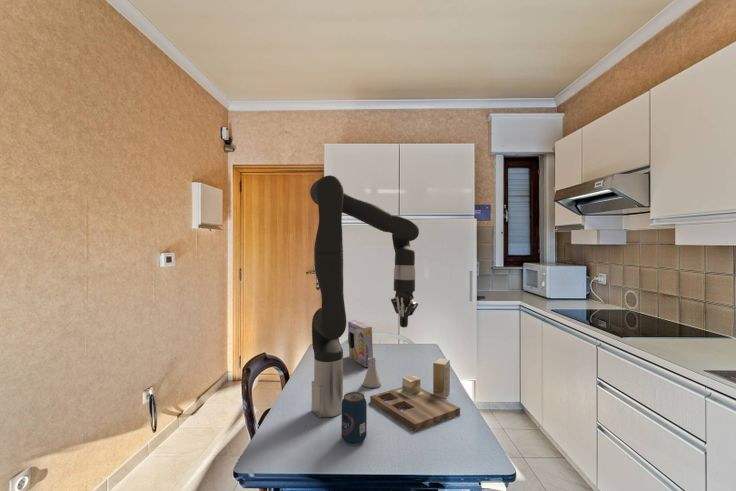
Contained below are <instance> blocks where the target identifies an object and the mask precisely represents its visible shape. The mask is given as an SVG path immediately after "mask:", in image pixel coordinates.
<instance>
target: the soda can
mask: <svg viewBox="0 0 736 491" xmlns="http://www.w3.org/2000/svg"><path fill="white" fill-rule="evenodd" d="M365 397H366V396H365V395H364V394H363V393H362V392H359V391H353V392H347V393H346V394H343V401H342V413H341V427H340V428H341V432H340V433H341V434H340V436H341V439H342V440H343V442H344V443H345V444H347V445H349V446H358V445H361V444H363V443H364V441H365V440H366V438H367V433H368V432H367V424H368V421H367V419H368V418H367V414H368V413H367V407H368V405H367V404H368V402H367V399H366V398H365Z"/></svg>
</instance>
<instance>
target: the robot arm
mask: <svg viewBox="0 0 736 491" xmlns="http://www.w3.org/2000/svg"><path fill="white" fill-rule="evenodd" d="M310 187H311V188H310V190H309V196H310V198H311V200H312V201H313V203H314V204H316V205H317V206H318V226H317V231H316V235H315V240H314V247H313V253H314V254H313V256H314V258H313V262H314V265H313V266H314V272H315V276H316V280H317V283H318V287H319V289H320V297H321V307H320V308H318V309H317V310H316V311H315V312H314V313H313V317H312V320H311V344H312V349H313V358H314V360H313V361H314V362H313V363H314V365H313V368H314V369H313V371H314V375H313V376H314V377H313V381H311V412H313V413H314V414H315V415H316V416H317V417H318V418H320V419H321V418H332V417H337V416H338V415H341V414H342V401H343V399H344V384H343V383H344V381H343V380H344V376H343V375H344V352H343V347H342V345H341V343H340V338H341V337H342V336H343V335H344V333H345V331H346V328H347V314H346V306H345V296H344V246H343V245H344V243H343V240H344V239H343V226H342V225H343V223H342V222H343V220H342V219H343V218H342V217H343V214H345V215H348V216H350V217H352V218H354V219H356V220H359V221H360V222H362V223H364V224H367V225H368V226H370V227H373V228H375V229H377V230H378V231H381V232H384V233H390V234H391V238H392V244H393V251H394V269H393V291H394V292H395V294H394V298H393V297H392V298H391V299H390V301H391V304H392V306H393V309H394V312H395V313H396V314H398V317H399V327H401V328H407V327H408V325H409V317H410V316H413V314H414V313H415V311H416V309H417V307H418V306H419V303H418V302H416V301H415V300H414V292H415V291H416V268H415V266H416V265H415V264H416V262H415V261H416V260H415V258H416V257H415V256H416V253H415V250H414V249H413V248H411V244H410V242H412V241H414V240H416V239H417V238H418V237H419V234H420V229H419V227H418V225H417V224H416V222H414V221H412V220H410V219H408V218H406V217H402V216H400V215H396V214H394V213H392V212H390V211H388V210H386V209H385V208H382V207H380V206H378V205H375V204H373V203H370V202H367V201H363V200H362V199H361V200H360V199H358V198H356V197H353V196H351V195H349V194H347V193H345V192H344V186H343V184H342V182H341V180H340V179H339V178H337V177H336V176H335V175H325V176H322V177H320V178H319V179H317V180H316V181H315V182H314V183H313V184H312V185H311V186H310Z"/></svg>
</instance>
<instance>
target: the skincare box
mask: <svg viewBox="0 0 736 491" xmlns="http://www.w3.org/2000/svg"><path fill="white" fill-rule="evenodd" d="M432 363H433V366H432V367H433V368H432V369H433V371H432V372H433V374H432V376H433V378H432V380H433V381H432V384H433V386H432V387H433V389H432V390H433V391H432V392H433V393H432V394H433V395H436V396H438V397H440V398H442V399H444V400H446V398H447V397H448V396H449V395H450V393H451V392H450V391H451V381H450V380H451V377H450V376H451V375H450V374H451V370H450V369H451V368H450V366H451V361H450V359H447V358H440V357H439V358H437V359H436V360H435V361H434V362H432Z"/></svg>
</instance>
